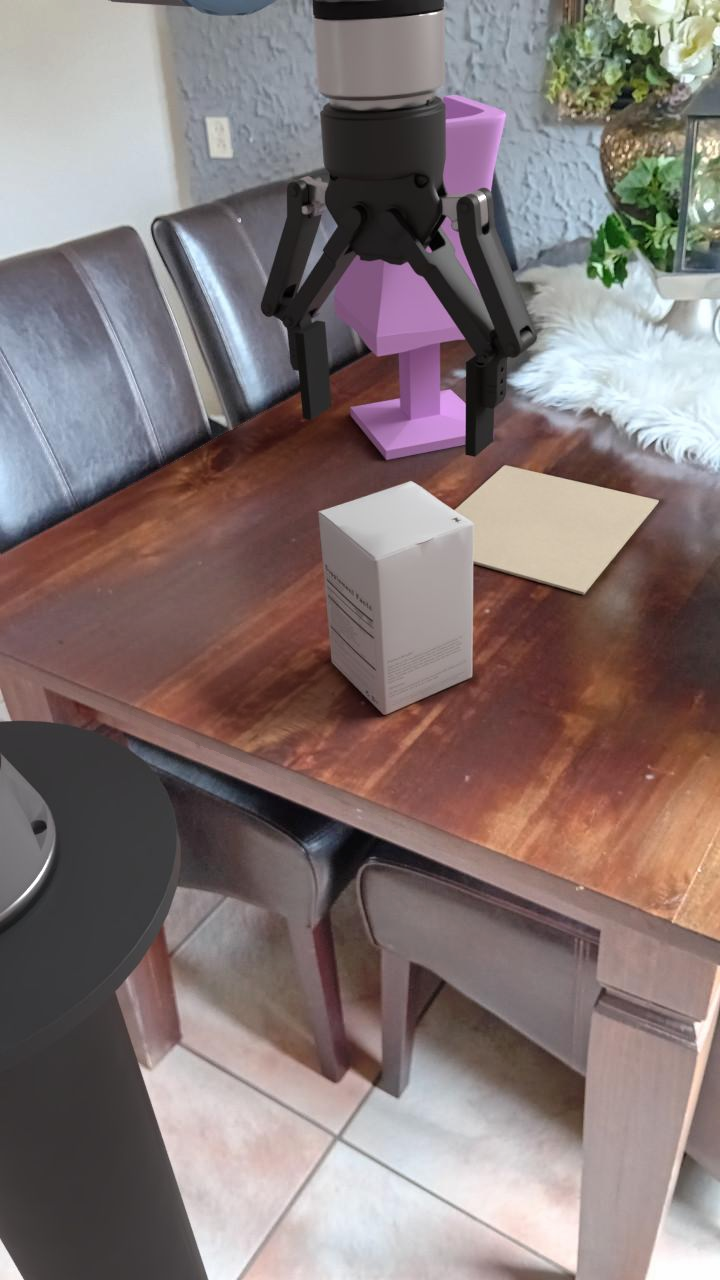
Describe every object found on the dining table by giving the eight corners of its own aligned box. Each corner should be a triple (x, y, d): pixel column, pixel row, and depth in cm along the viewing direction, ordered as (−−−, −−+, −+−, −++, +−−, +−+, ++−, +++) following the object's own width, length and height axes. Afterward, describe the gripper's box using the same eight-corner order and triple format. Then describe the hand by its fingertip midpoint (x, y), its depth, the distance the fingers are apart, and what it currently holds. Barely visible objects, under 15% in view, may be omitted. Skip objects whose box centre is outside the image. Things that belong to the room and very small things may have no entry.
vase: (454, 393, 132) (456, 94, 111) (504, 440, 120) (517, 114, 99) (341, 414, 128) (321, 108, 108) (381, 464, 116) (368, 131, 95)
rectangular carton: (416, 627, 90) (413, 476, 81) (474, 678, 84) (478, 521, 75) (327, 661, 86) (314, 508, 78) (382, 718, 80) (374, 558, 71)
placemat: (415, 547, 101) (415, 544, 101) (504, 467, 114) (504, 464, 114) (583, 595, 93) (584, 592, 92) (658, 502, 106) (658, 500, 106)
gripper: (606, 93, 56) (578, 442, 69) (255, 82, 68) (286, 382, 80) (550, 117, 51) (531, 488, 64) (181, 101, 63) (227, 417, 75)
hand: (394, 430), depth 72 cm, fingers open, 13 cm apart
